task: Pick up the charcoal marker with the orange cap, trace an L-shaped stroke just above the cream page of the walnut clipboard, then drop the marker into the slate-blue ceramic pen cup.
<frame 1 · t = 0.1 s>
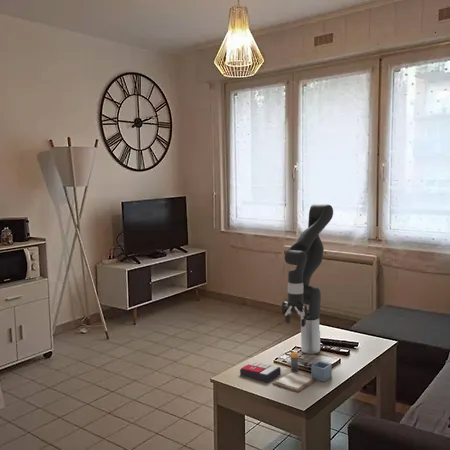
hand: (295, 324, 240), 17 cm above the table, tool pointing down, fingers open, 8 cm apart
marker: (294, 370, 229), on the table
pen cup: (321, 378, 220), on the table
calculator: (260, 375, 226), on the table
clipboard: (294, 382, 216), on the table
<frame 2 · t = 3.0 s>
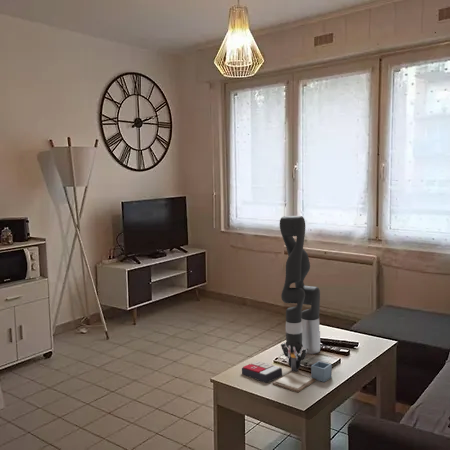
hand: (294, 366, 229), 2 cm above the table, tool pointing down, fingers closed on marker, 3 cm apart
marker: (294, 370, 229), on the table, touching gripper
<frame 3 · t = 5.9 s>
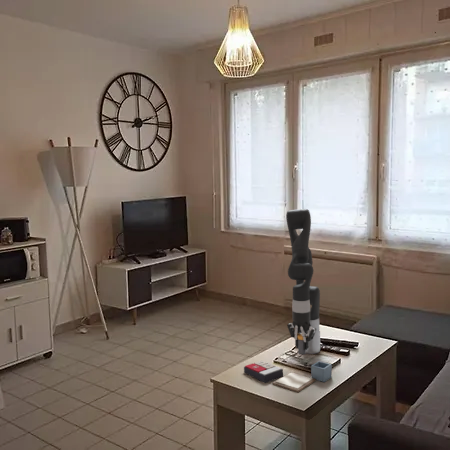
hand: (301, 348, 214), 15 cm above the table, tool pointing down, fingers closed on marker, 3 cm apart
marker: (301, 353, 214), point 13 cm above the table, touching gripper
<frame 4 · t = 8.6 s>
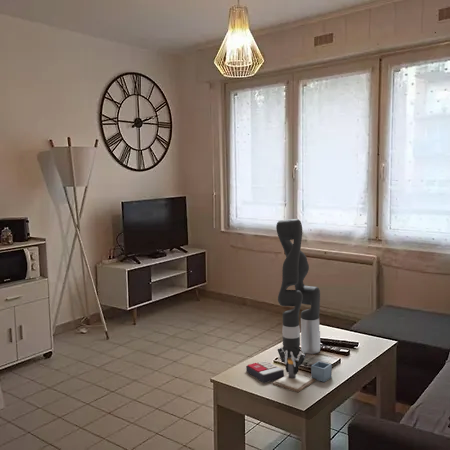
hand: (291, 372, 219), 3 cm above the table, tool pointing down, fingers closed on marker, 3 cm apart
marker: (292, 377, 219), point 1 cm above the table, touching gripper
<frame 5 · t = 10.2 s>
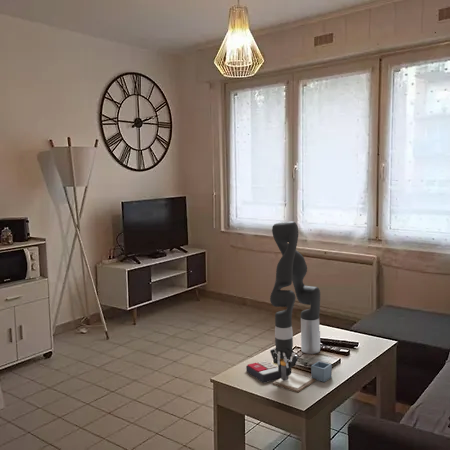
hand: (284, 374, 216), 4 cm above the table, tool pointing down, fingers closed on marker, 3 cm apart
marker: (284, 378, 216), point 2 cm above the table, touching gripper
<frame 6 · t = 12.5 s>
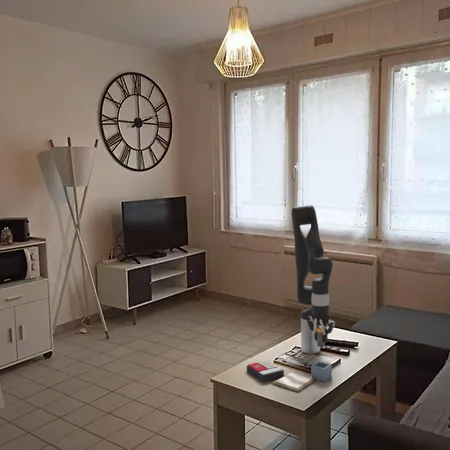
hand: (320, 341, 218), 17 cm above the table, tool pointing down, fingers closed on marker, 3 cm apart
marker: (320, 345, 218), point 15 cm above the table, touching gripper
calculator: (265, 375, 226), on the table, touching clipboard
when the fingers open (7 cm above the table, at t = 14.5 s): marker drops 5 cm, resting on pen cup.
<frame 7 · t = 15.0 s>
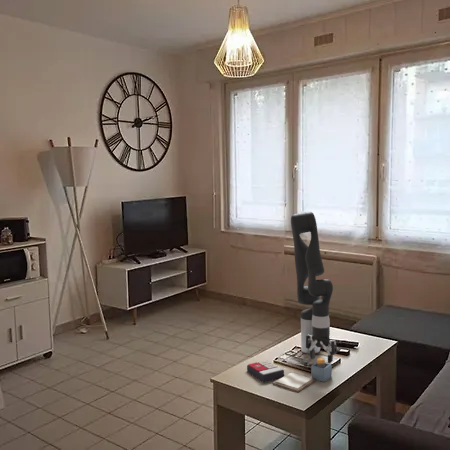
hand: (321, 360, 219), 8 cm above the table, tool pointing down, fingers open, 8 cm apart
marker: (321, 376, 220), point 1 cm above the table, touching pen cup
calculator: (265, 375, 226), on the table
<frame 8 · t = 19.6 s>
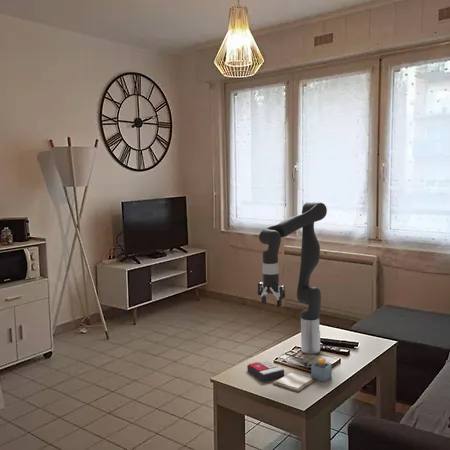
hand: (271, 305, 235), 28 cm above the table, tool pointing down, fingers open, 8 cm apart
calculator: (265, 375, 226), on the table, touching clipboard
everything else where it was.
at the end: marker 0.2 cm off-centre on the pen cup, point 0.6 cm above the pen cup's base; marker tilted 3°; the gripper is holding nothing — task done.
